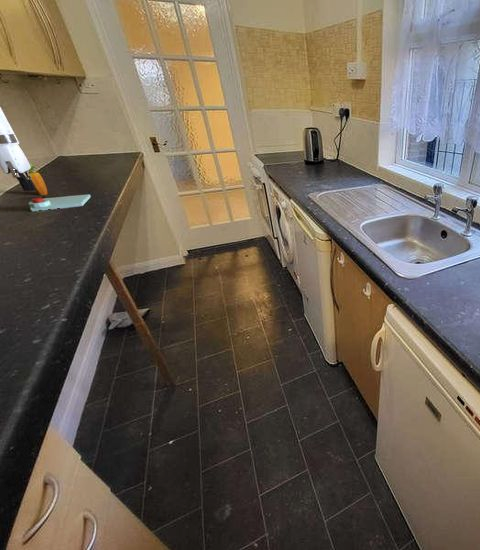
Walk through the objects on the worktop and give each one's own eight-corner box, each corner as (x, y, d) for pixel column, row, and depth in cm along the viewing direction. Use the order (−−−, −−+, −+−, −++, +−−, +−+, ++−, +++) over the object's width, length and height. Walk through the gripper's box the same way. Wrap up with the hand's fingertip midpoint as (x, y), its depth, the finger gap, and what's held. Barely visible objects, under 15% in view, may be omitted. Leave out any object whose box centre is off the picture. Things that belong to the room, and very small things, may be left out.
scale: (30, 212, 117) (25, 204, 116) (43, 201, 128) (39, 194, 127) (82, 206, 124) (78, 199, 122) (91, 197, 135) (88, 190, 133)
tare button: (32, 204, 118) (30, 200, 117) (35, 201, 120) (33, 198, 119) (42, 203, 119) (40, 199, 118) (45, 201, 121) (43, 197, 120)
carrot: (50, 196, 135) (30, 162, 127) (55, 198, 133) (36, 163, 125) (36, 199, 131) (15, 164, 123) (41, 201, 129) (20, 165, 121)
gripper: (-2, 137, 111) (25, 186, 121) (-24, 142, 100) (8, 196, 110) (25, 137, 114) (49, 184, 124) (7, 142, 103) (36, 194, 113)
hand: (30, 190), depth 117 cm, fingers closed
